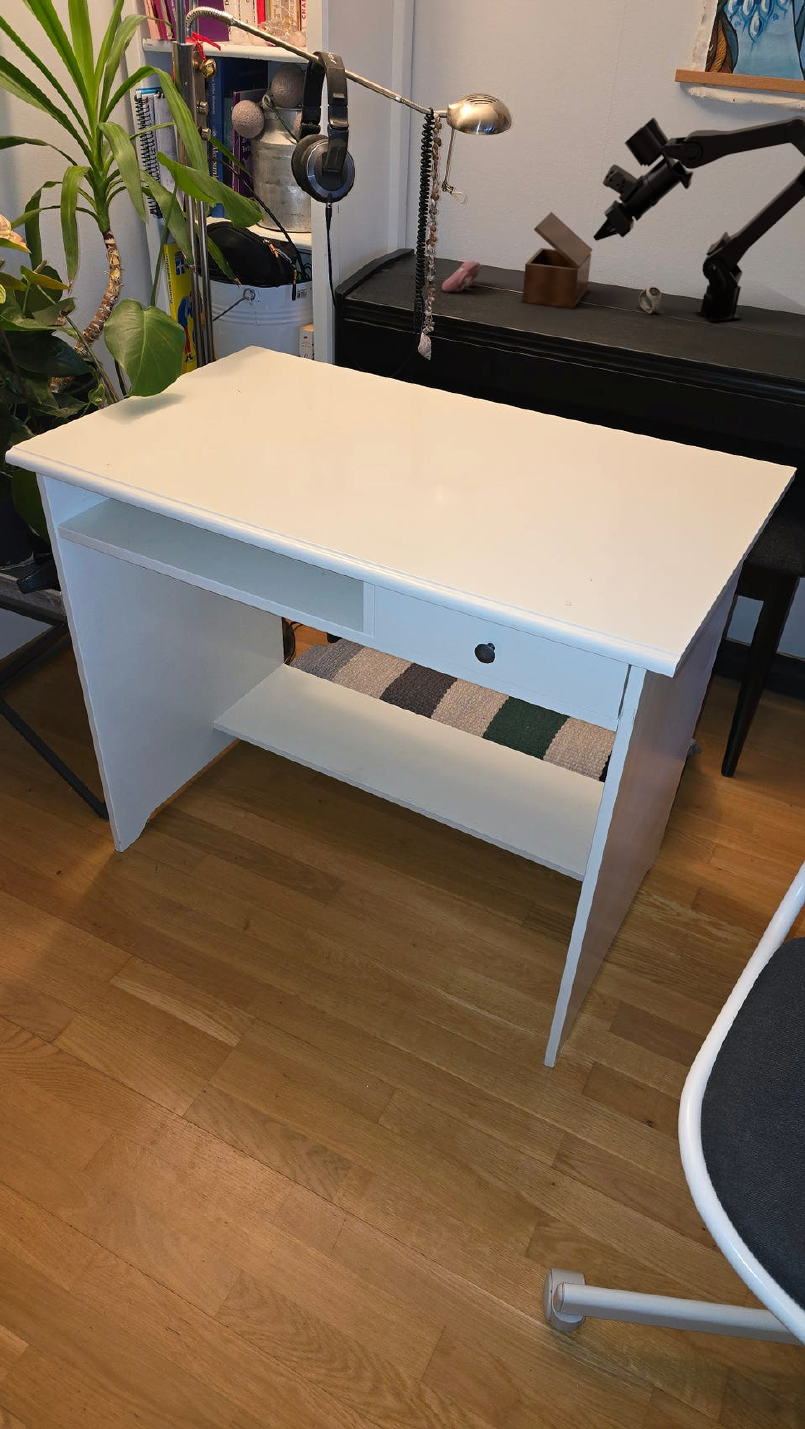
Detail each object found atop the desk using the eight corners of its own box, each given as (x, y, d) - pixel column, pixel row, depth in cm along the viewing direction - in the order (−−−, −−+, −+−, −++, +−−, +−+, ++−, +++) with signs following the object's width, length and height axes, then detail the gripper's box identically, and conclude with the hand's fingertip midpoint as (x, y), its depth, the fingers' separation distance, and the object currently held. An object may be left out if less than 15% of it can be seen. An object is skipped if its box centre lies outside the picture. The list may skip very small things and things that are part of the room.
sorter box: (522, 302, 218) (525, 264, 213) (537, 284, 227) (540, 247, 222) (573, 308, 215) (577, 270, 209) (587, 290, 224) (591, 253, 218)
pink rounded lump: (454, 301, 223) (468, 275, 217) (439, 289, 223) (452, 262, 218) (475, 289, 229) (488, 263, 224) (460, 277, 229) (473, 251, 224)
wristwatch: (648, 316, 211) (652, 292, 208) (634, 306, 215) (637, 283, 212) (662, 314, 212) (667, 290, 209) (648, 305, 216) (651, 281, 213)
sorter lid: (533, 230, 208) (535, 226, 207) (549, 215, 217) (551, 211, 216) (576, 269, 209) (579, 266, 209) (590, 252, 218) (592, 249, 218)
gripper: (639, 142, 204) (581, 196, 215) (621, 161, 191) (560, 218, 202) (671, 187, 207) (613, 238, 218) (655, 209, 194) (593, 263, 205)
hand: (594, 238), depth 210 cm, fingers closed
